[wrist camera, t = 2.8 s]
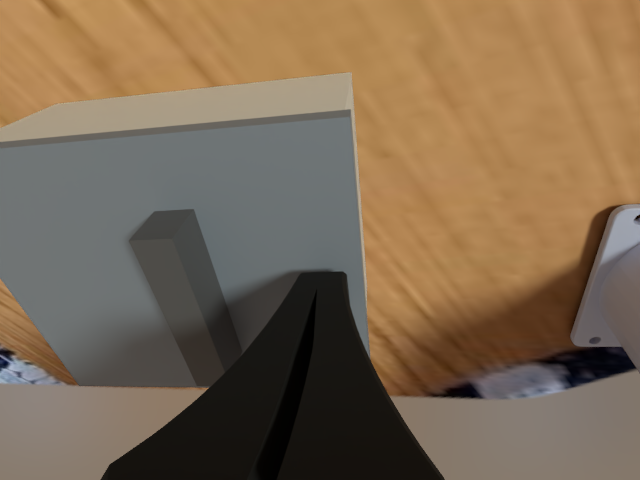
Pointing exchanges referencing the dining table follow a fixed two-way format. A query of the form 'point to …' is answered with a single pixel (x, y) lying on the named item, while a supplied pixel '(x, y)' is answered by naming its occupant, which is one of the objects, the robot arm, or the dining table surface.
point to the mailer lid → (176, 240)
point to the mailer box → (195, 111)
